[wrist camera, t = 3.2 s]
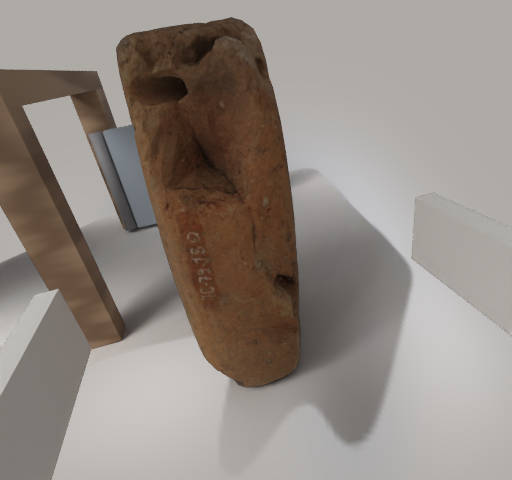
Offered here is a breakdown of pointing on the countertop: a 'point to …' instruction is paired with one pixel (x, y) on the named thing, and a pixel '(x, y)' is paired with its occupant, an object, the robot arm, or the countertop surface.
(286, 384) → the countertop surface
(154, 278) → the countertop surface
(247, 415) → the countertop surface
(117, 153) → the door
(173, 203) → the brown elongated rounded part
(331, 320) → the countertop surface
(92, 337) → the door frame
